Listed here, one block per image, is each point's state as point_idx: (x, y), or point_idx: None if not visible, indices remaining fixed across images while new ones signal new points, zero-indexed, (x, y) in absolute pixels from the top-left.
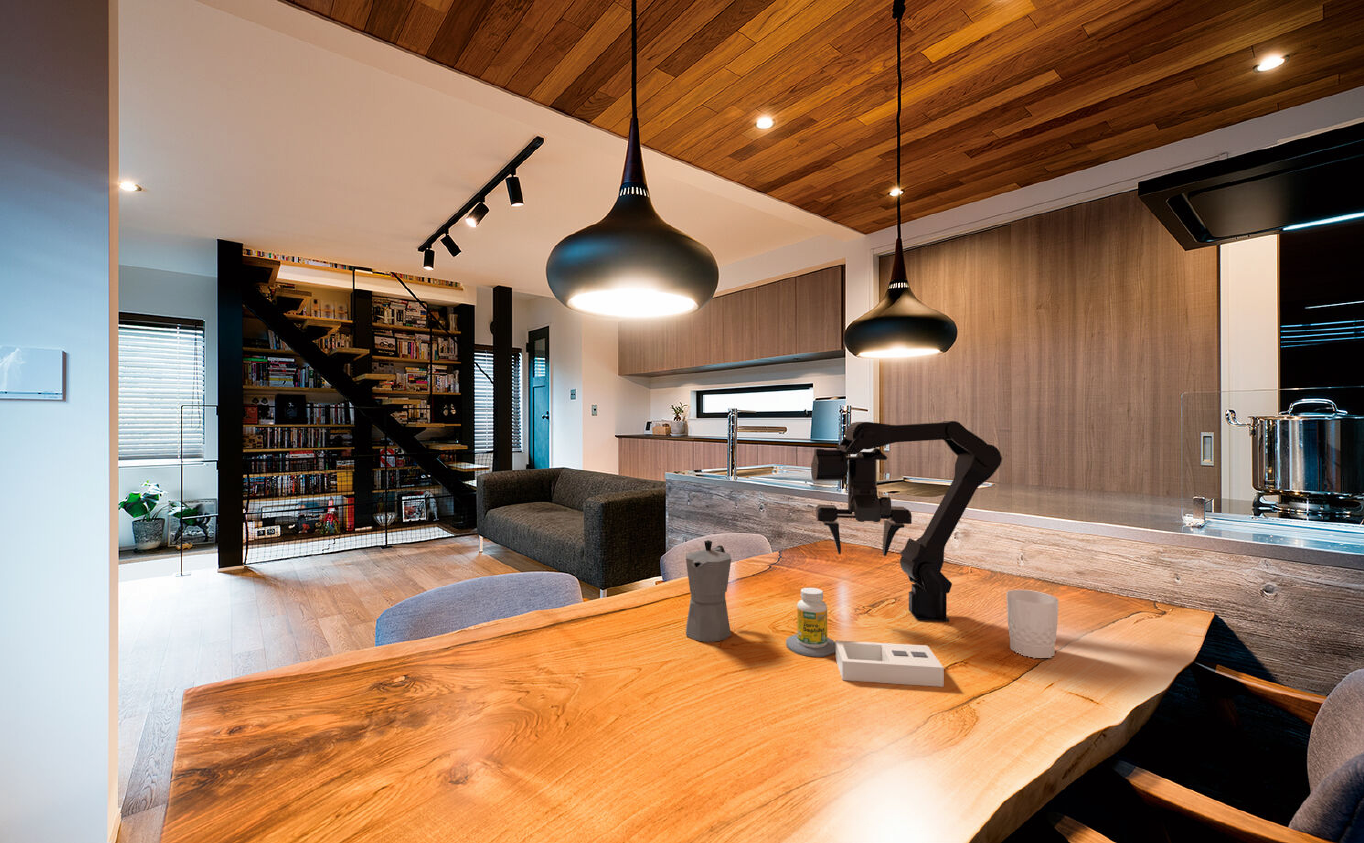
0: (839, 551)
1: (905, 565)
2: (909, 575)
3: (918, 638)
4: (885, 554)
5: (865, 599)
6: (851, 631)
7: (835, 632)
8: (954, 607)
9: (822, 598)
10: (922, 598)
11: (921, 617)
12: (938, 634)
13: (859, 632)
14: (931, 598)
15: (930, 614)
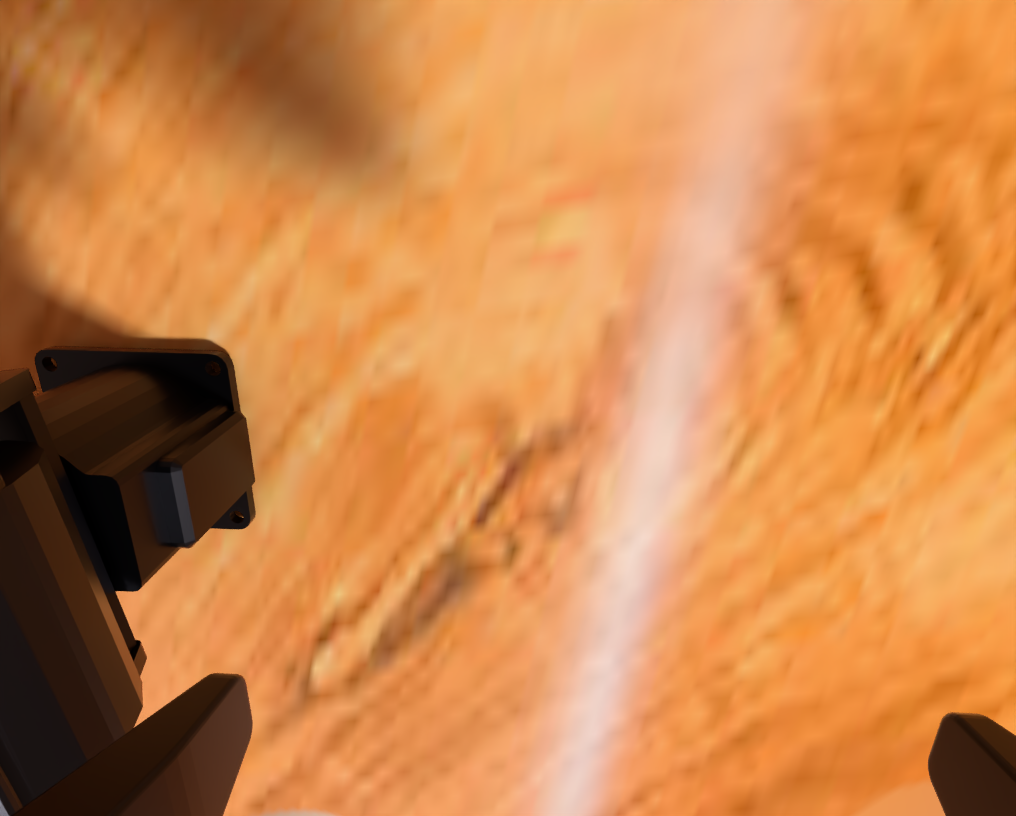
0: (1009, 748)
1: (60, 651)
2: (94, 573)
3: (264, 21)
4: (211, 686)
5: (474, 668)
6: (698, 93)
7: (822, 53)
8: None
9: None
10: (112, 428)
11: (196, 371)
12: (129, 125)
13: (646, 81)
14: (41, 406)
15: (128, 372)
